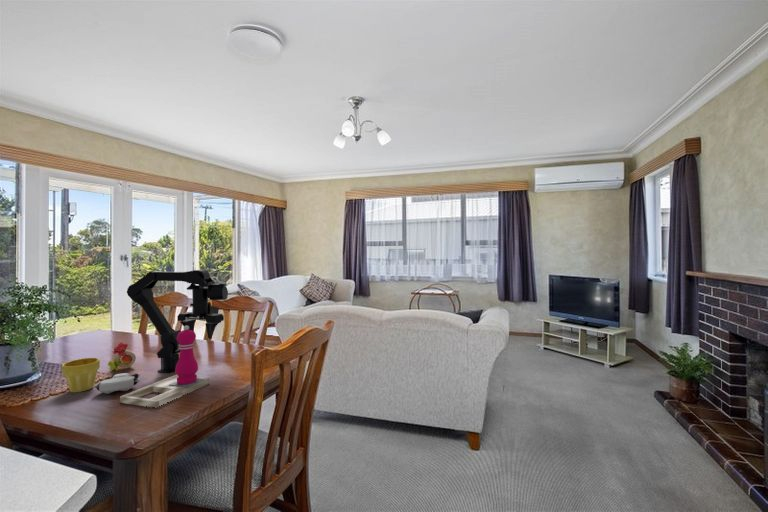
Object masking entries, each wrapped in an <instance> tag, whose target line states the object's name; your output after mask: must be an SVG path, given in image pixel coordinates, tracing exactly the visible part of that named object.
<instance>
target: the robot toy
mask: <svg viewBox="0 0 768 512" xmlns="http://www.w3.org/2000/svg"><path fill="white" fill-rule="evenodd" d="M139 377H141V374H139V373H133V374H131V375H130V373H128V372H124V373H117V374H114V375H113V376H112V377H111V376H110V377H109V376H108V377H107V376H106V377H105V378H104V379H103V380H102V381H100V382H99V383H98V384H97V385H94V386H93V388H95V389H96V390H97V391H98V392H99V393H104V394H106V395H107V394H112V393H114V392H118V391H120V392H127V391H129V390H130V389H132V388H133V387H134V386H136V385H137V384H138V383H139Z"/></svg>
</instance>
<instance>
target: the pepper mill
mask: <svg viewBox="0 0 768 512" xmlns="http://www.w3.org/2000/svg"><path fill="white" fill-rule="evenodd" d="M188 329H189V326H183V330H180V331H181V332H179V333H178V335H177V341H178V342H179V343H180V344H179V345H178V346H179V349H180V353H179V360H178V363H177V365H176V368H175V371H174V373H175V375H178V376H179V377H177V384H181V385H184V384H190V383H193V382H195V381H196V380H197V377H198V375H197V372H198V371H199V364H198V361H197V359H196V358H195V354H194V347H195V340H196V338H197V335H196V332H195V330H194V331H192V330H188Z"/></svg>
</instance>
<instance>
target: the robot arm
mask: <svg viewBox="0 0 768 512" xmlns="http://www.w3.org/2000/svg"><path fill="white" fill-rule="evenodd" d="M161 281H163V282H184V283H187V284H190V285H189V286H188V287H186V290H189V291H191V290H192V302H191V303H190V305H189V307H192V312H191V311H185V312H182V313H181V312H180V313H179V314H178V315H177V322H179V323H180V324H181V325H182V326H183V327H184V326H189V329H188V330H192V331H194V332H195V323H196V321H197V320H198V321H199V320H201V321H206V322H205V323H204V324H205V328H206V333H207V338H208V340H211V339H212V338H213V335H214V334H215V333H214V332H215V329H216V328H217V326H218V325H219V324H221V322H223V321H225V316H224V314H223V313H219V311H220V307H218V306H215V305H214V306H213V305H212V303H211V301H226V300H227V299H228V296H229V290H228V288H227V285H226V283H216V282H215V281H214V280H213V279H212V277H211V275H210V273H209V271H208V270H206V269H195V270H190V271H189V270H188V271H160V270H159V271H158V270H151V271H149V272H148V273H145V275H144V276H143V277H141V278H140V279H138V280H136V281H135V282H134V283H133V284H130V285H129V286H128V287H127V291H126V294H127V296H128V297H129V298H130V299H131V300H132V301H133V302H134V303H136V304H137V305H139V306H140V307H141V309H142V310H143V312H144V313H145V314H146V315H147V317H148V319H149V320H150V321H151V324H153V326H154V328H155V329H156V331H157V333H158V334H159V335H160V336H159V337H160V344H161V348H160V349H159V350H158V351H157V352H156V357H157V358H158V359H160V369H158V370H157V372H160V373H167V374H170V373H174V372H175V368H176V365H177V363H178V360H179V357H180V349H179V346H178V345H179V344H180V343H179V342H178V341H177V335H178V333H179V332H181V331H182V330H180V329H178V330H175V329H174V328H173V327H172V326H171V324H170V323H169V322H168V320H167V318H166V317H165V315H164V313H163V312H162V311H161V309H160V308H159V306H158V304H157V303H156V302H155V300H154V291H153V289H154V287H156V285H157V284H158V282H161ZM209 300H211V301H209ZM173 371H174V372H173Z"/></svg>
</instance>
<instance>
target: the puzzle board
mask: <svg viewBox="0 0 768 512" xmlns="http://www.w3.org/2000/svg"><path fill="white" fill-rule="evenodd" d="M177 377H179V376H178V375H177V374H175V375H172V376H169V377H167V378H164V379H161V380H158V381H157V382H154V383H151V384H149V385H146V386H143V387H141V388H139V389H136V390H133V391H130V392H129V393H125V394H123V395H121V396H120V397H119V399H120V402H119V403H122V404H127V405H133V406H140V407H146V406H147V407H146V408H152V407H155V408H154V409H157V407H158V408H160V407H162V406H164V405H166V404H168V403H167V402H169V403H171V402H173V401H175V400H177V399H179V398H181V397H184V396H186V395H188V394H190V393H192V392H194V391H196V389H197V390H198V389H201V388H202V387H205V386H207V385H210V377H203V376H202V377H201V376H197V380H196V381H195V382H193V383H190V384H184V385H181V384H177ZM158 392H159V393H160V394H158V395H156V396H153V397H151V398H144V397H143V396H146V395H149V394H151V393H158ZM187 393H188V394H187ZM185 394H186V395H185ZM183 395H184V396H183ZM176 398H177V399H176ZM174 399H175V400H174ZM172 400H173V401H172ZM170 401H171V402H170ZM163 404H164V405H163ZM161 405H162V406H161ZM159 406H160V407H159Z"/></svg>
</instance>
